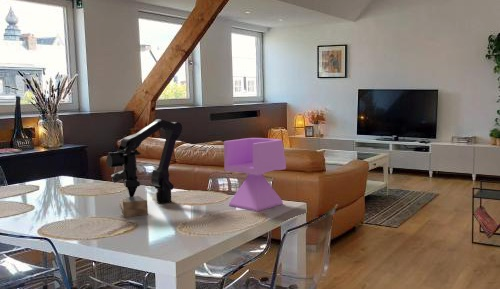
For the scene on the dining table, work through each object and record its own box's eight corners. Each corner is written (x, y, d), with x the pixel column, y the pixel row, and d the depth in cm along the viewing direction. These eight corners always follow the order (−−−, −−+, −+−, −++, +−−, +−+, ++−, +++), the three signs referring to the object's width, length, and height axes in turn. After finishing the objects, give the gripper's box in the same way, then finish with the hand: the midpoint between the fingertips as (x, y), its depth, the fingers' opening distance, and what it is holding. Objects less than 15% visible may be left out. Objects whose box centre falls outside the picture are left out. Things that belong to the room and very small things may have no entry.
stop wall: (147, 213, 217) (146, 199, 217) (147, 214, 216) (147, 200, 215) (123, 215, 214) (122, 202, 214) (124, 216, 212) (123, 203, 212)
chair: (225, 206, 228) (223, 141, 225) (254, 198, 243) (253, 137, 239) (257, 212, 215) (256, 143, 211) (286, 204, 229) (285, 139, 226)
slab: (138, 200, 229) (138, 195, 228) (146, 205, 218) (146, 200, 218) (125, 201, 226) (125, 197, 226) (132, 206, 215) (132, 202, 215)
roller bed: (141, 203, 237) (140, 196, 237) (147, 213, 217) (146, 205, 217) (119, 205, 234) (119, 198, 234) (123, 216, 214) (123, 208, 213)
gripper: (110, 163, 232) (111, 196, 234) (113, 169, 215) (114, 204, 217) (134, 161, 236) (136, 194, 238) (139, 167, 218) (140, 202, 220)
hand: (131, 198), depth 228 cm, fingers closed
